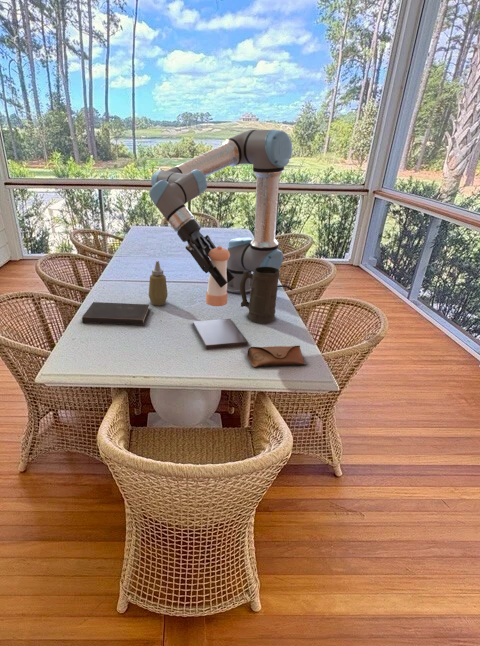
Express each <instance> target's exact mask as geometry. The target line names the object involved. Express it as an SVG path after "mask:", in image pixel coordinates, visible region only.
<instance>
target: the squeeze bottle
mask: <svg viewBox="0 0 480 646" xmlns="http://www.w3.org/2000/svg"><path fill="white" fill-rule="evenodd" d="M148 298H149V301H150V303H151V305H153V306H163V305H165V304H166V301H167V299H168V285H167V276H166V275H165V274H164V269H163V268H161V264H160V260H156V261H155V264H154V268H152V270H151V275H149V283H148Z"/></svg>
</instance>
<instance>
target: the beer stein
mask: <svg viewBox="0 0 480 646" xmlns="http://www.w3.org/2000/svg"><path fill="white" fill-rule="evenodd" d="M280 276H281V273H280V270H279V269H276V268H273V267H257V268H255V269H254V272H252V273H249V272H248V271H243V277H242V279H241V282H240V292H241V294H240V296H241V302H240V307H242V308H244V307H246V308H247V309H248V314H247V319H248V320H250V321H251V322H253V323H257V324H271V323H273V322H274V321H275V319H276V315H275V314H276V306H277V296H278V288H279V287H278V285H279V278H280ZM247 278H251V279H252V286H251V292H249V301H248V297H247V293H246V292H245V283H246V280H247Z"/></svg>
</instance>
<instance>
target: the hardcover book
mask: <svg viewBox="0 0 480 646" xmlns="http://www.w3.org/2000/svg"><path fill="white" fill-rule="evenodd" d="M149 306H150V304H146V303H125V302H102V301H101V302H99V301H93V302H92V303H91V304H90V306H89V307H88V308H87V310H86V311H85V312H84V314H83V315H82V317H81V321H82V323H85V324H109V325H127V326H128V325H129V326H144V324H145V322H146V319H147V317H148V314H149V311H150V309H149Z"/></svg>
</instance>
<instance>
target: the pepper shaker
mask: <svg viewBox="0 0 480 646" xmlns="http://www.w3.org/2000/svg"><path fill="white" fill-rule="evenodd" d="M208 255H209V259H210V261H211V263H212V264H213V266H214V267H215V266H216V268H217V269H218V270H219V272H220V273H221V274H222V276H223V277H224V278H225V280H226V281H227V273H226V272H227V260H228V259H229V257H230V253H229V251H228V249H226V248H224V247H222V246H221V245H218V246H216V248H214V249H212V250H210V252H209V254H208ZM214 267H213V268H214ZM205 303H206V305H208V306H212V307H224V306H226V305H227V304H228V292H227V283H226V284H225V285H224V286H223V287H220V286H219V285H218V283H217V282H216V281H215V279H214V278H213V277H212V275H211V274H210V273H209V274H208V279H207V291H206V293H205Z"/></svg>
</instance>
